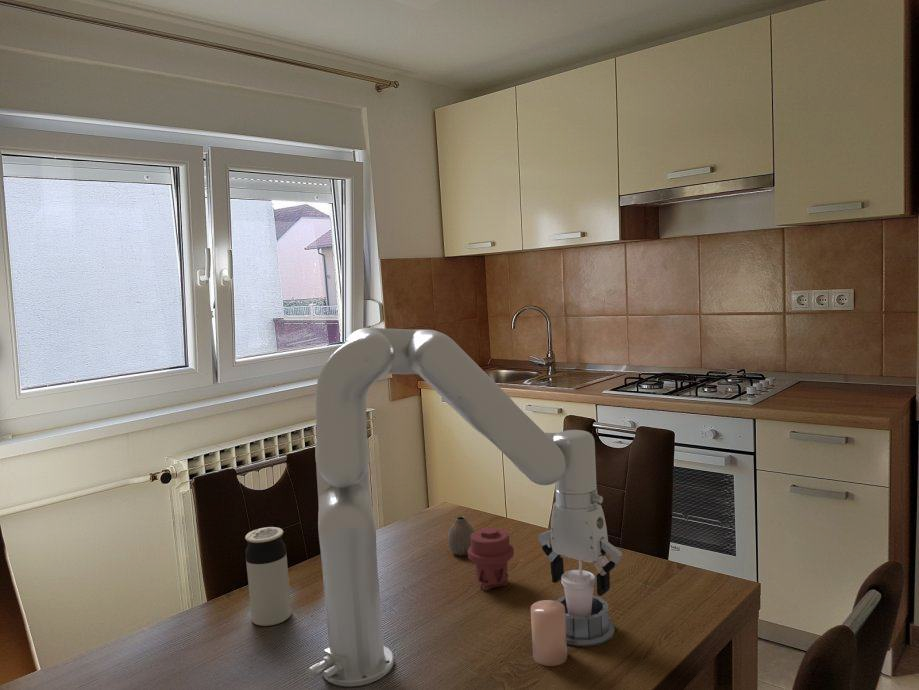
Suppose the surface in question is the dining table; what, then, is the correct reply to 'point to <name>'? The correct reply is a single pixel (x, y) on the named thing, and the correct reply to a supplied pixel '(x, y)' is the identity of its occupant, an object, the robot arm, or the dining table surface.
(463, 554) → the vase
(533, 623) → the peach rounded cylinder
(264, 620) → the travel mug
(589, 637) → the ring socket
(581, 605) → the smoothie
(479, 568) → the mechanical component
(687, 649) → the dining table surface
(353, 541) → the robot arm
